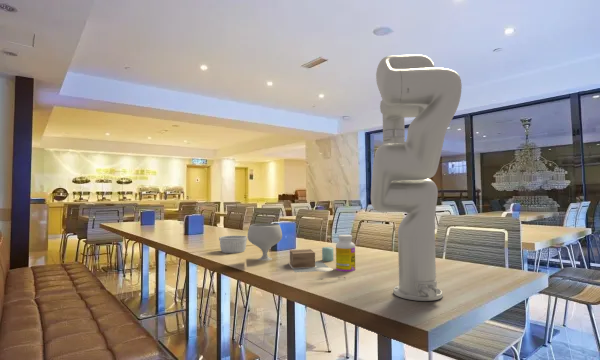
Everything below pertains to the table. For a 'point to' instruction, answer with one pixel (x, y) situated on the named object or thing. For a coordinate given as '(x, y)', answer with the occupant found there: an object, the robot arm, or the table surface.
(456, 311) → the table surface
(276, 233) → the chalice
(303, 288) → the table surface
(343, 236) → the supplement bottle
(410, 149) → the robot arm
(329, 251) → the teal post
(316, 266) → the build board
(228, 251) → the ramekin
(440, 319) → the table surface
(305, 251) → the walnut plinth
